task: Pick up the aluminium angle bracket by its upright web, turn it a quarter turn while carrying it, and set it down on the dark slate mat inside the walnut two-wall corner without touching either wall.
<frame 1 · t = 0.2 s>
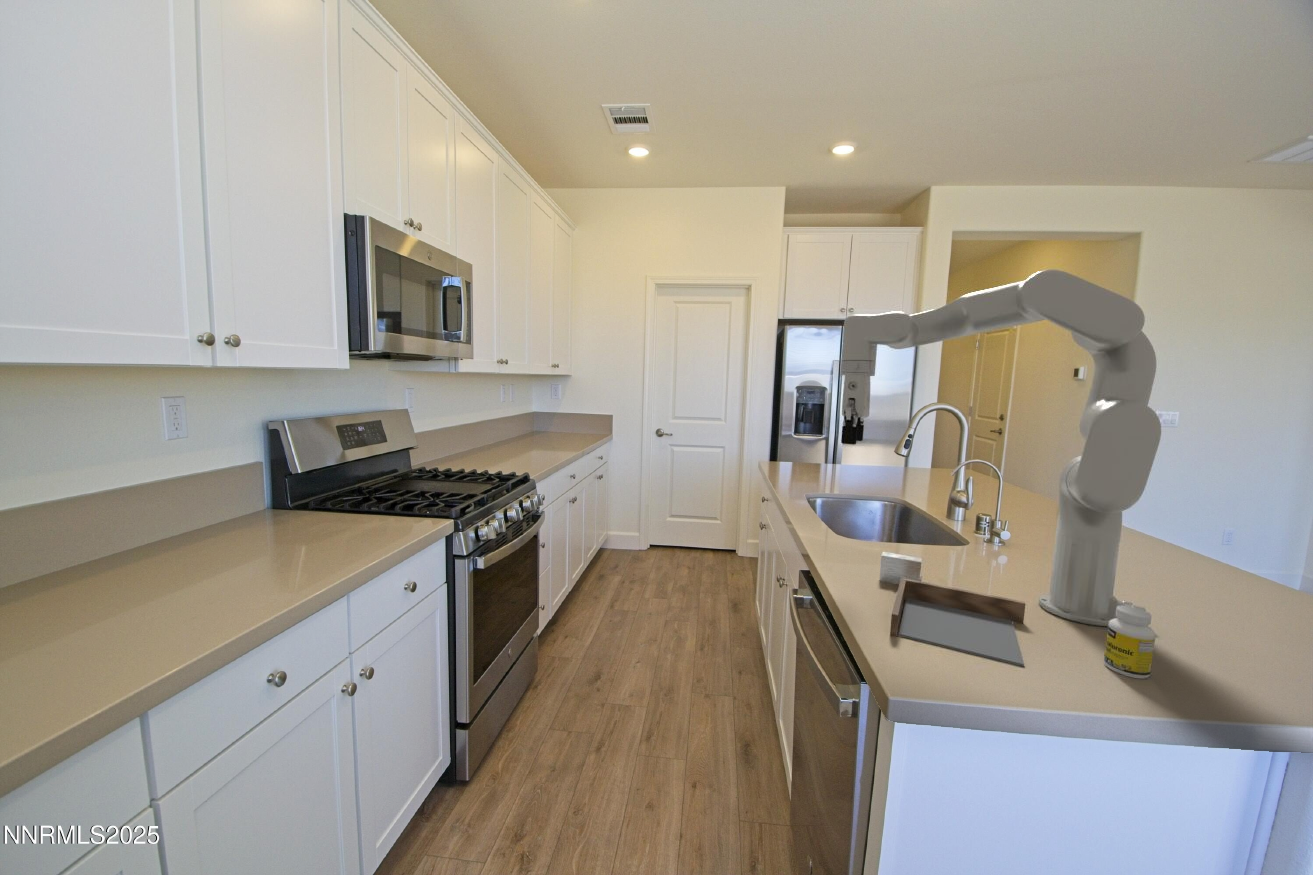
hand: (852, 442, 119), 31 cm above the countertop, tool pointing down, fingers open, 9 cm apart
walnut corner walls: (957, 628, 92), resting in slate mat
slate mat: (957, 628, 92), on the countertop
aluminium bracket: (899, 582, 114), on the countertop
supplement bottle: (1125, 671, 80), on the countertop
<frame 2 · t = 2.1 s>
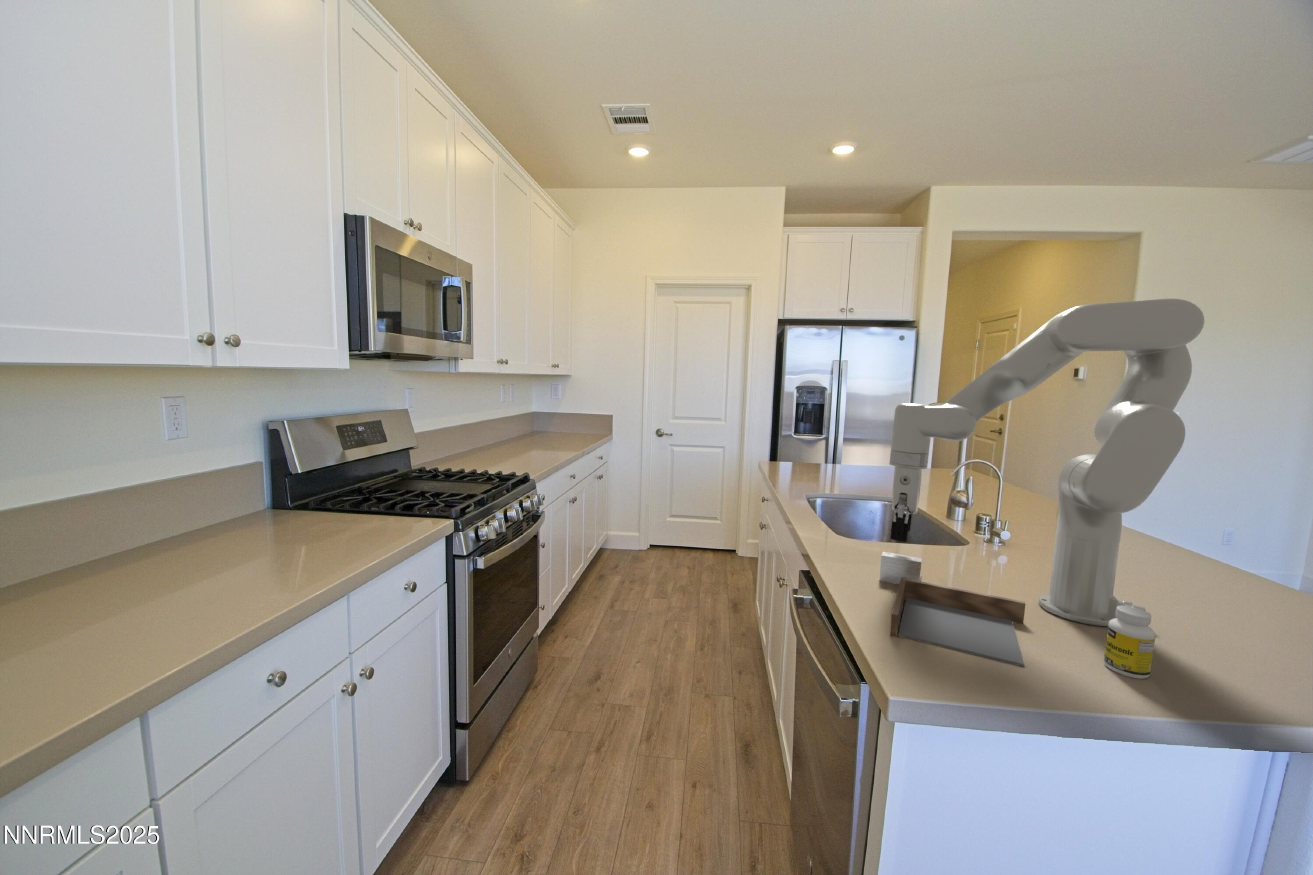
hand: (900, 534, 113), 11 cm above the countertop, tool pointing down, fingers open, 9 cm apart
nothing on the countertop moved.
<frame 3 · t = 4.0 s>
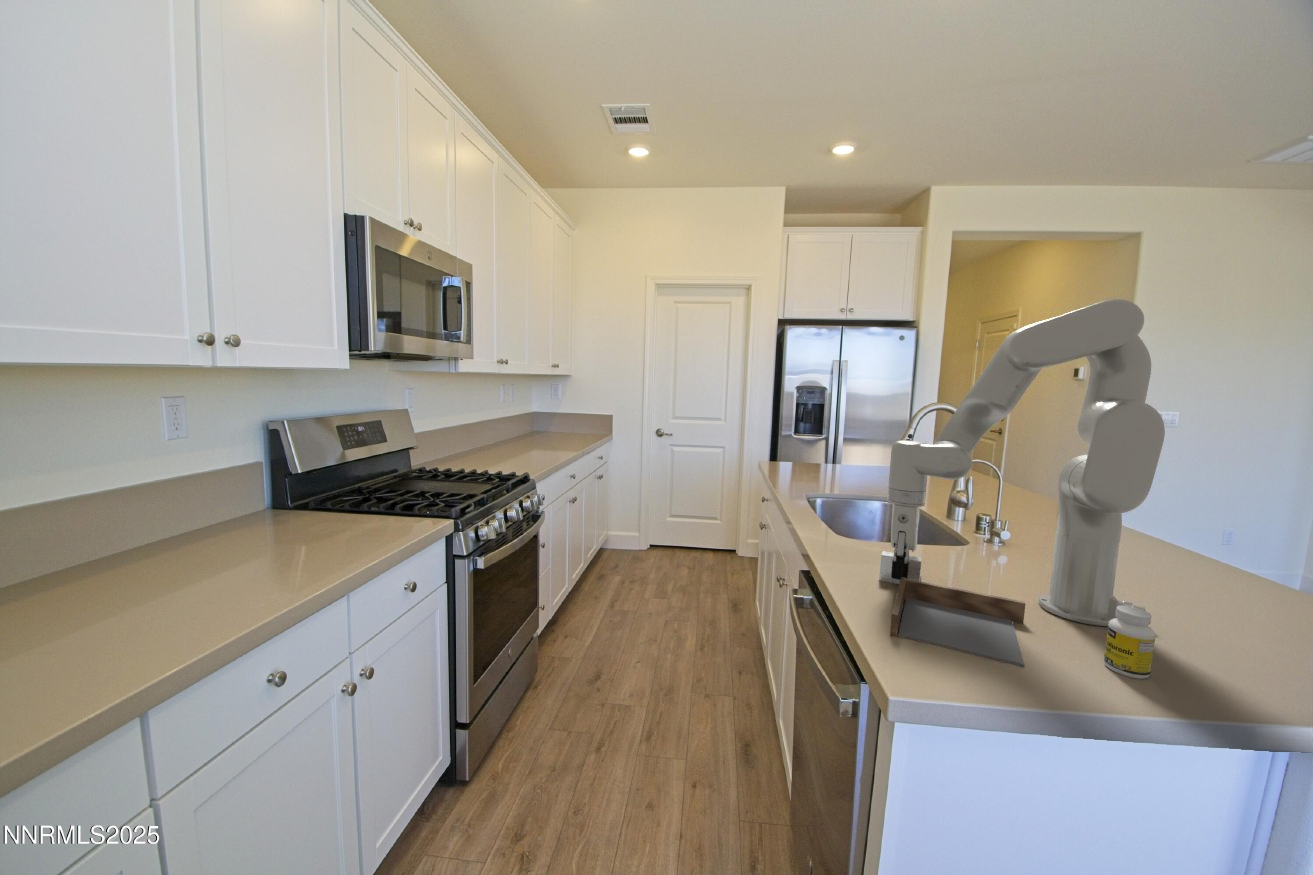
hand: (899, 575, 114), 1 cm above the countertop, tool pointing down, fingers closed on aluminium bracket, 3 cm apart
aluminium bracket: (899, 581, 114), on the countertop, touching gripper
everything else where it was.
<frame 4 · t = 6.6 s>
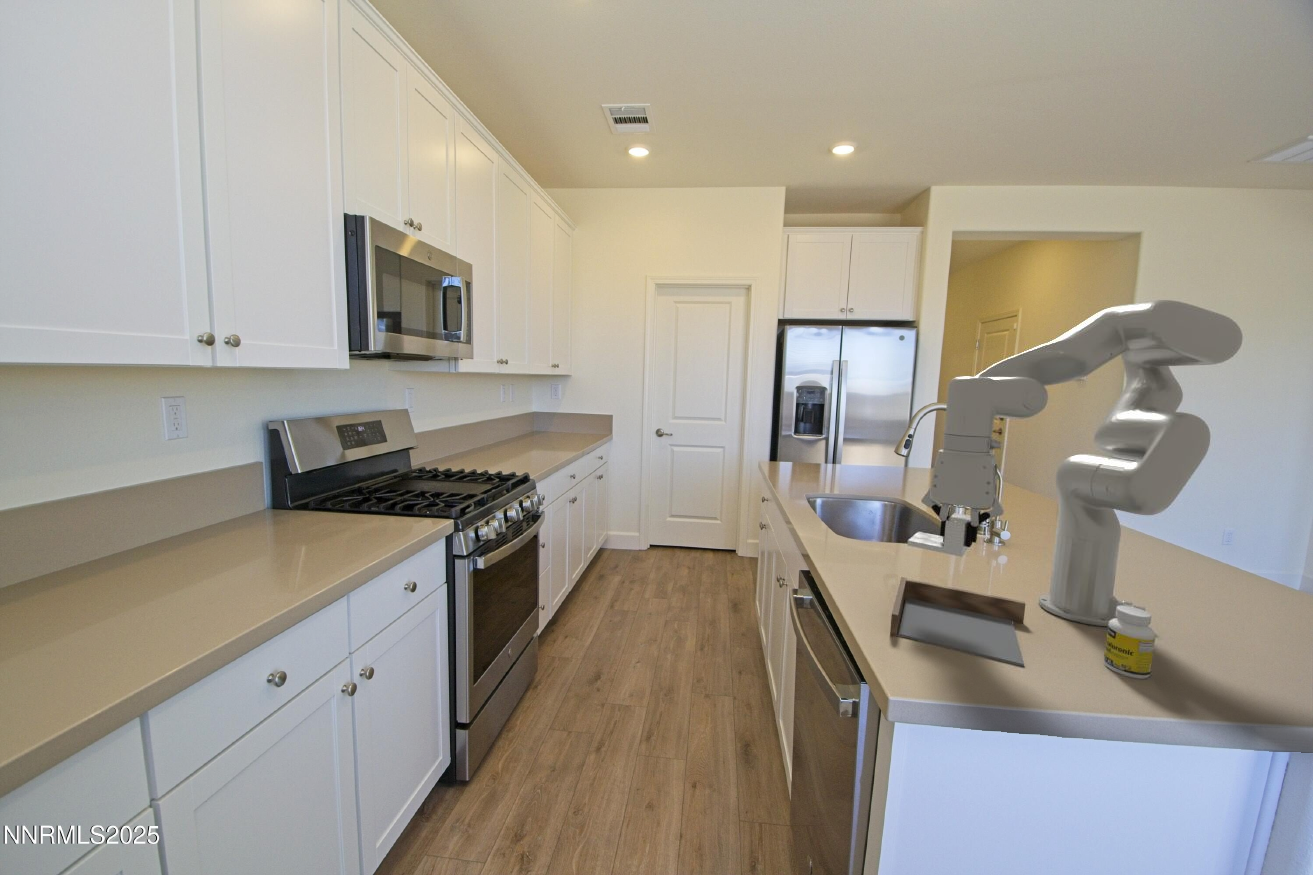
hand: (957, 542, 94), 15 cm above the countertop, tool pointing down, fingers closed on aluminium bracket, 3 cm apart
aluminium bracket: (956, 549, 94), point 14 cm above the countertop, touching gripper
everything else where it was.
when the fingers open (3 cm above the countertop, at t = 9.5 s): aluminium bracket drops 1 cm, resting on slate mat.
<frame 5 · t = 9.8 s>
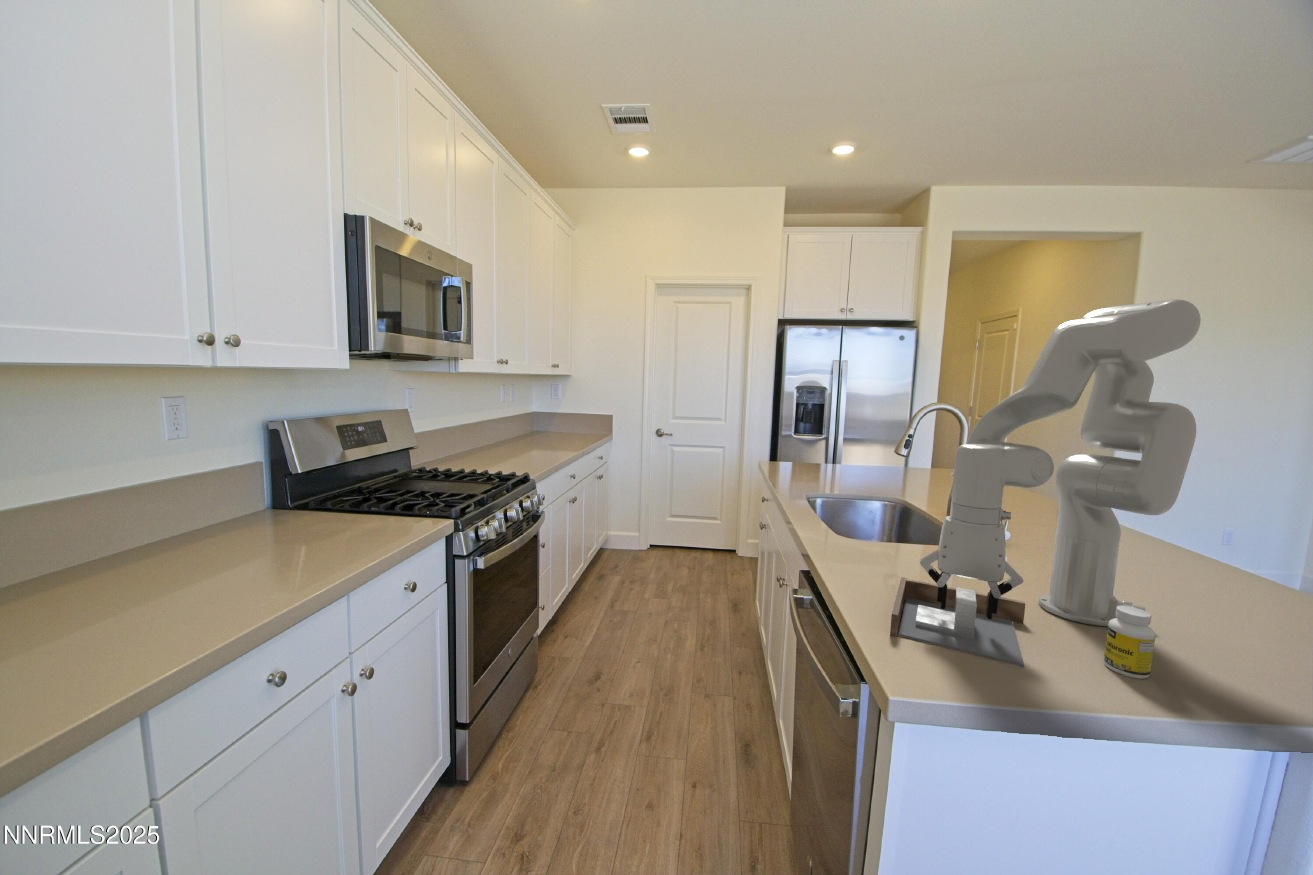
hand: (965, 610, 91), 4 cm above the countertop, tool pointing down, fingers open, 6 cm apart
aluminium bracket: (962, 627, 91), resting on slate mat
everything else where it was.
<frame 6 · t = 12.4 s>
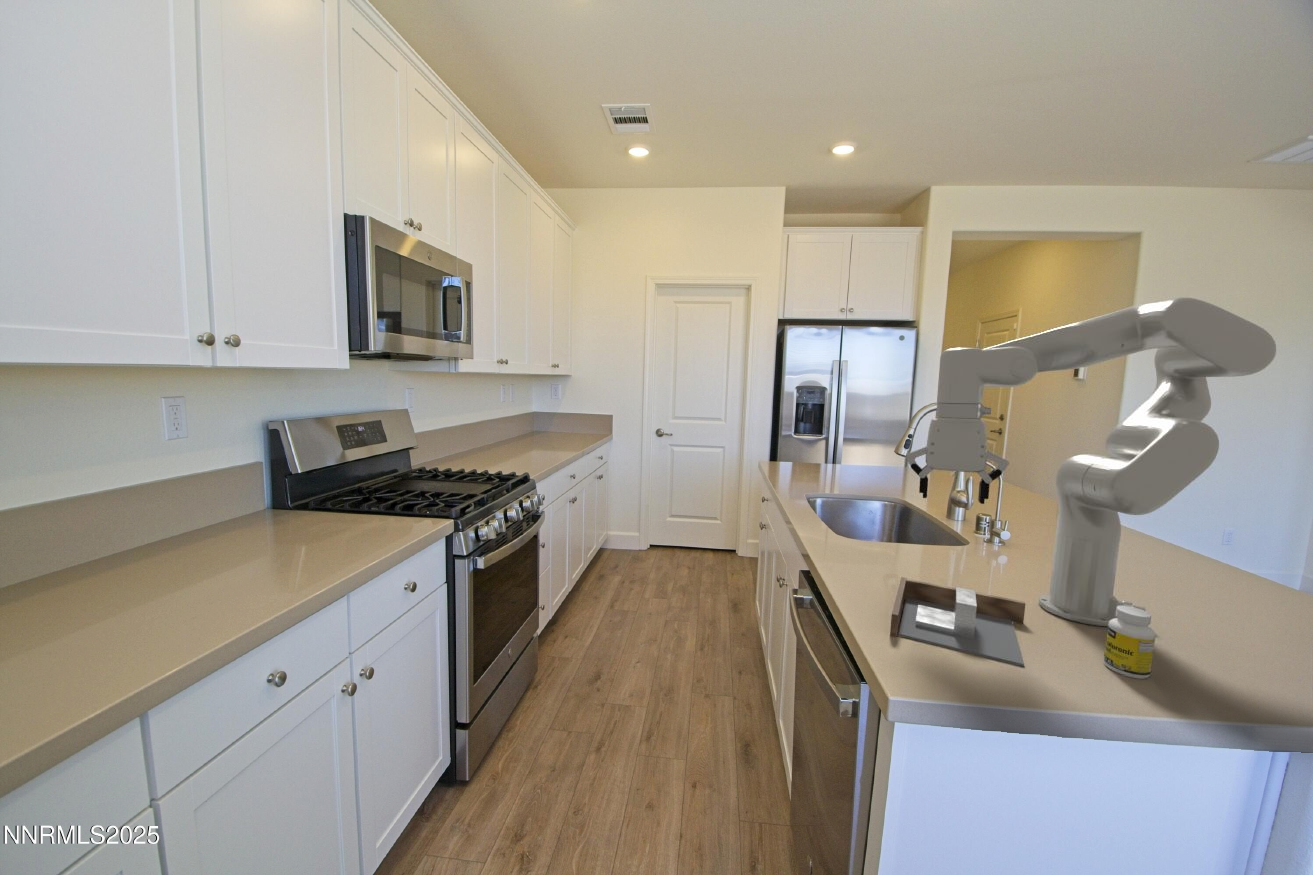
hand: (952, 499, 99), 22 cm above the countertop, tool pointing down, fingers open, 9 cm apart
nothing on the countertop moved.
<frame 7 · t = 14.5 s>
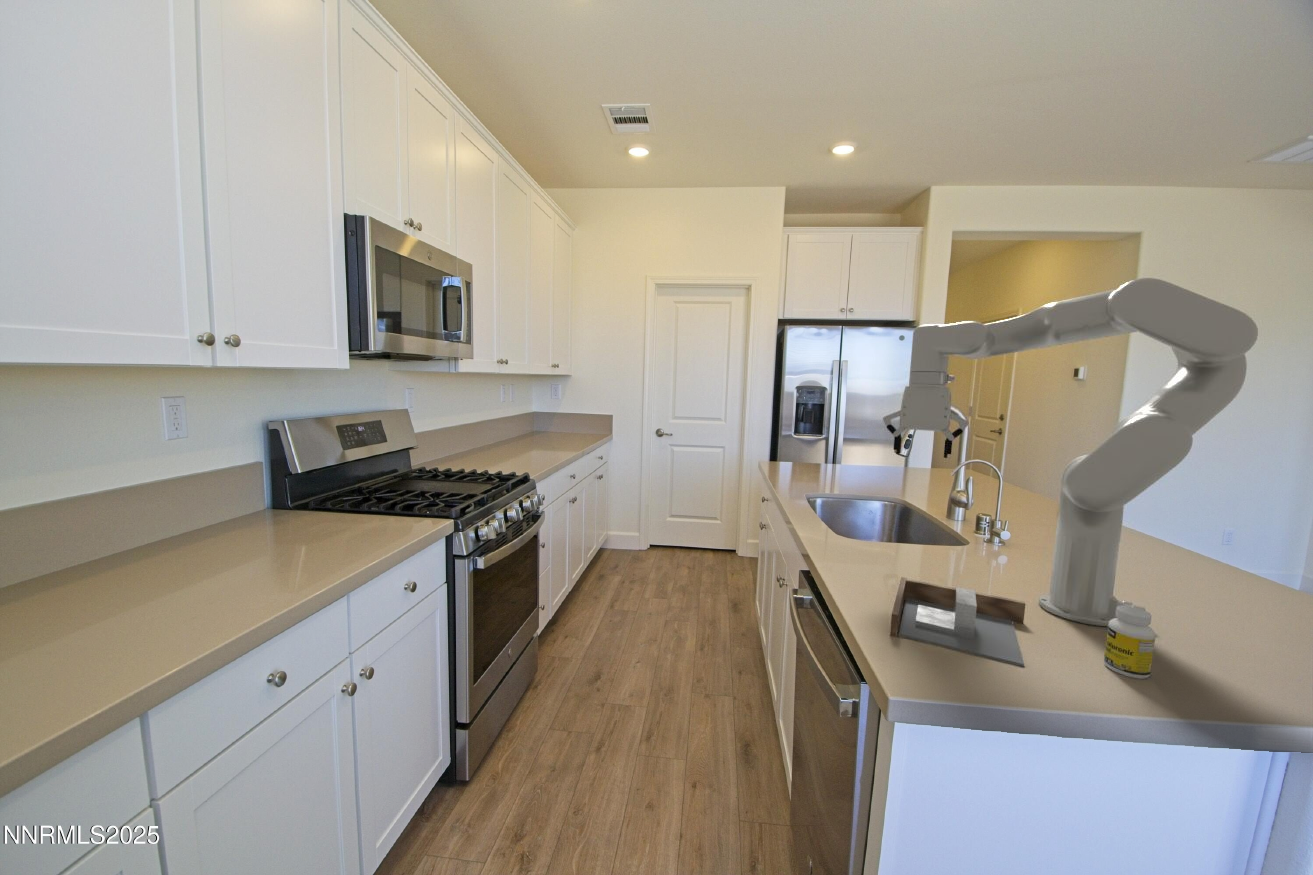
hand: (921, 455, 116), 28 cm above the countertop, tool pointing down, fingers open, 9 cm apart
nothing on the countertop moved.
at the end: aluminium bracket inside the target area on the slate mat (0.1 cm from its centre), point 0.4 cm above the slate mat's base; aluminium bracket touching slate mat; aluminium bracket tilted 0° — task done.
